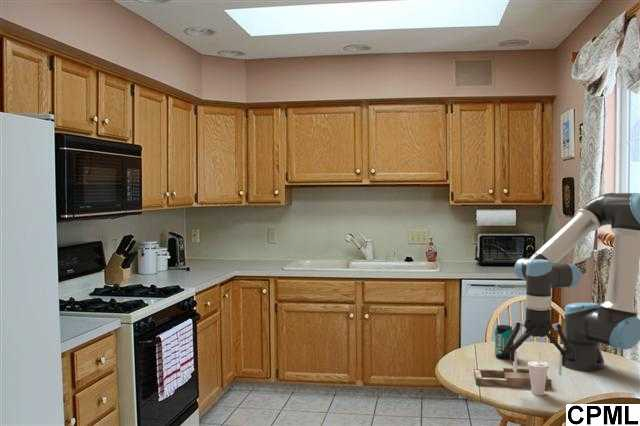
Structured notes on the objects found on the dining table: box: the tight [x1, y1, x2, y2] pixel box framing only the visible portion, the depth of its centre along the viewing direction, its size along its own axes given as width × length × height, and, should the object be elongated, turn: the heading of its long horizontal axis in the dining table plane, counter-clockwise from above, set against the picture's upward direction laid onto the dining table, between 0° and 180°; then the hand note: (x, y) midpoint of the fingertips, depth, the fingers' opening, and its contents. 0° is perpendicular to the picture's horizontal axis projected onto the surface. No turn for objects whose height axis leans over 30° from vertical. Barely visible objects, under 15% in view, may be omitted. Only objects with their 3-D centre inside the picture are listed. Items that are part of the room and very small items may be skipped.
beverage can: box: [494, 324, 515, 360], centre depth 215 cm, size 7×7×12 cm
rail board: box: [473, 367, 552, 390], centre depth 189 cm, size 24×10×3 cm, turn 78°
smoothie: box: [527, 350, 550, 396], centre depth 178 cm, size 6×6×14 cm
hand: (537, 372), depth 178 cm, fingers open, 13 cm apart
